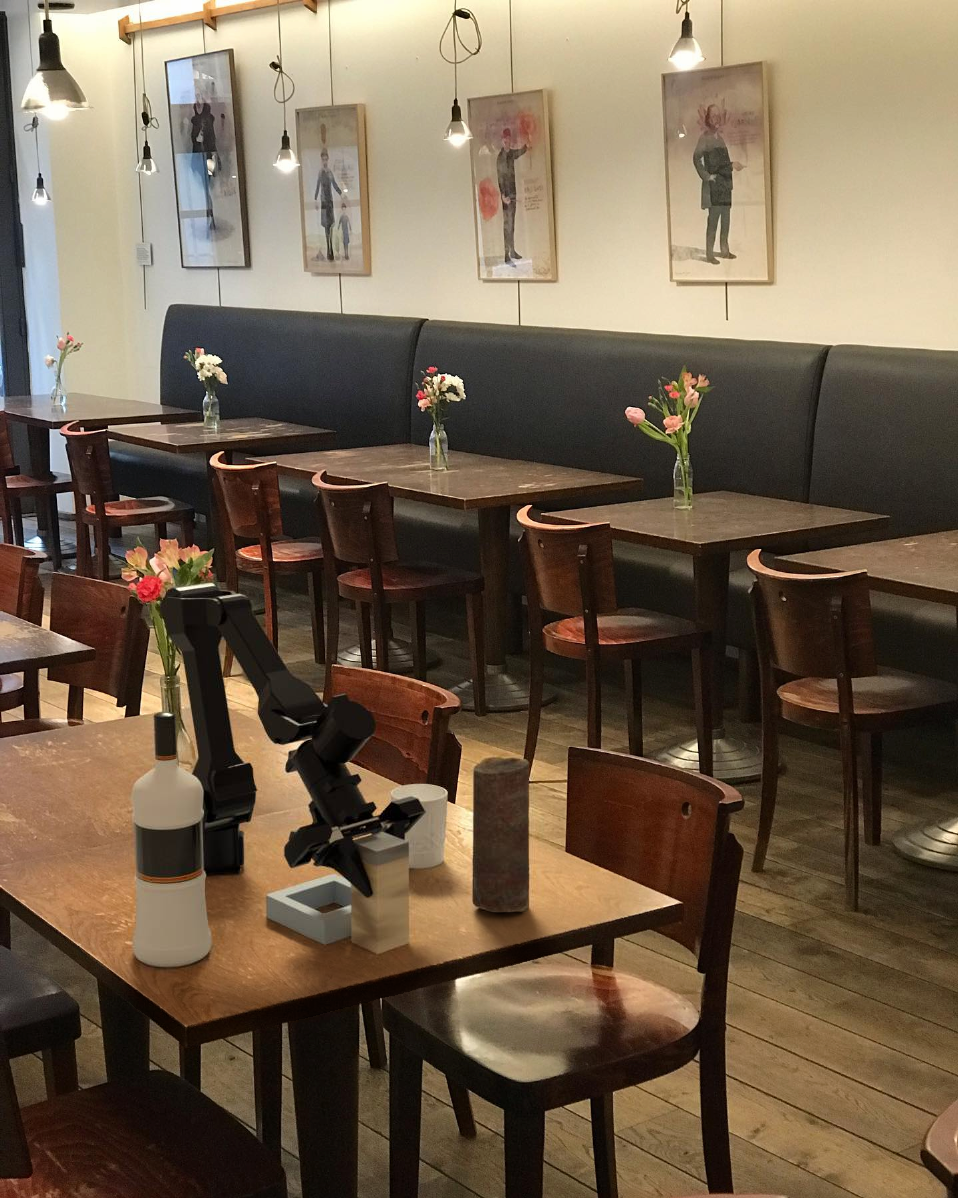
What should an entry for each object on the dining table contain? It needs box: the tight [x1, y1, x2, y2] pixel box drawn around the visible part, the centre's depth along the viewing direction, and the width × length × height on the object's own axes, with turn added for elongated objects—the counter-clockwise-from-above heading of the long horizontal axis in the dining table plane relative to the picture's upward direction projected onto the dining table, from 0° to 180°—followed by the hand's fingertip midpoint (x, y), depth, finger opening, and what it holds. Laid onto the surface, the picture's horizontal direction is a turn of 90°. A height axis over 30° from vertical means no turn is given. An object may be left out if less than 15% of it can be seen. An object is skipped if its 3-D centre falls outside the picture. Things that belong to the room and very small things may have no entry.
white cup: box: [390, 783, 448, 870], centre depth 223 cm, size 8×8×10 cm
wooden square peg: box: [350, 832, 410, 955], centre depth 195 cm, size 5×5×13 cm
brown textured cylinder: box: [471, 756, 530, 913], centre depth 205 cm, size 8×7×20 cm
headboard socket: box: [265, 873, 351, 946], centre depth 203 cm, size 12×11×3 cm
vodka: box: [130, 711, 212, 969], centre depth 189 cm, size 9×9×30 cm
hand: (387, 890), depth 194 cm, fingers closed on wooden square peg, 5 cm apart
